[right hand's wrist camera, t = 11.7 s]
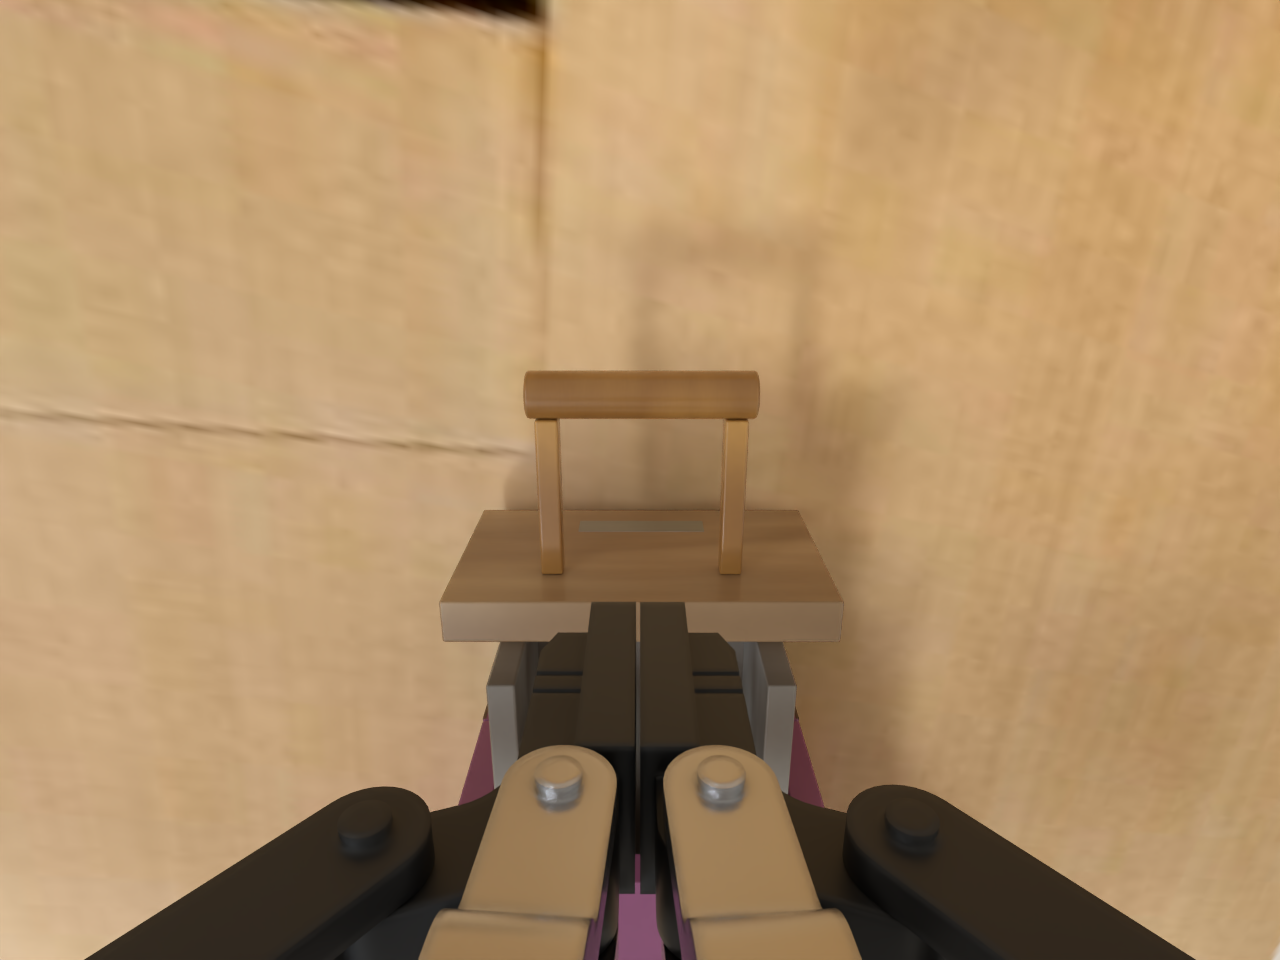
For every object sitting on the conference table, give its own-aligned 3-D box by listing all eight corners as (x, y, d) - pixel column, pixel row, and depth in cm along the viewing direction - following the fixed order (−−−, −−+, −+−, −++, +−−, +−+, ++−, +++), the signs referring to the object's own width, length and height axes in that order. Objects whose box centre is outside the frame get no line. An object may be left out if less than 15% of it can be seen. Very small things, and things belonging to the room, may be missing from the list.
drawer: (471, 340, 24) (417, 387, 18) (811, 340, 24) (866, 388, 18) (515, 947, 33) (488, 1112, 27) (765, 947, 33) (792, 1112, 27)
